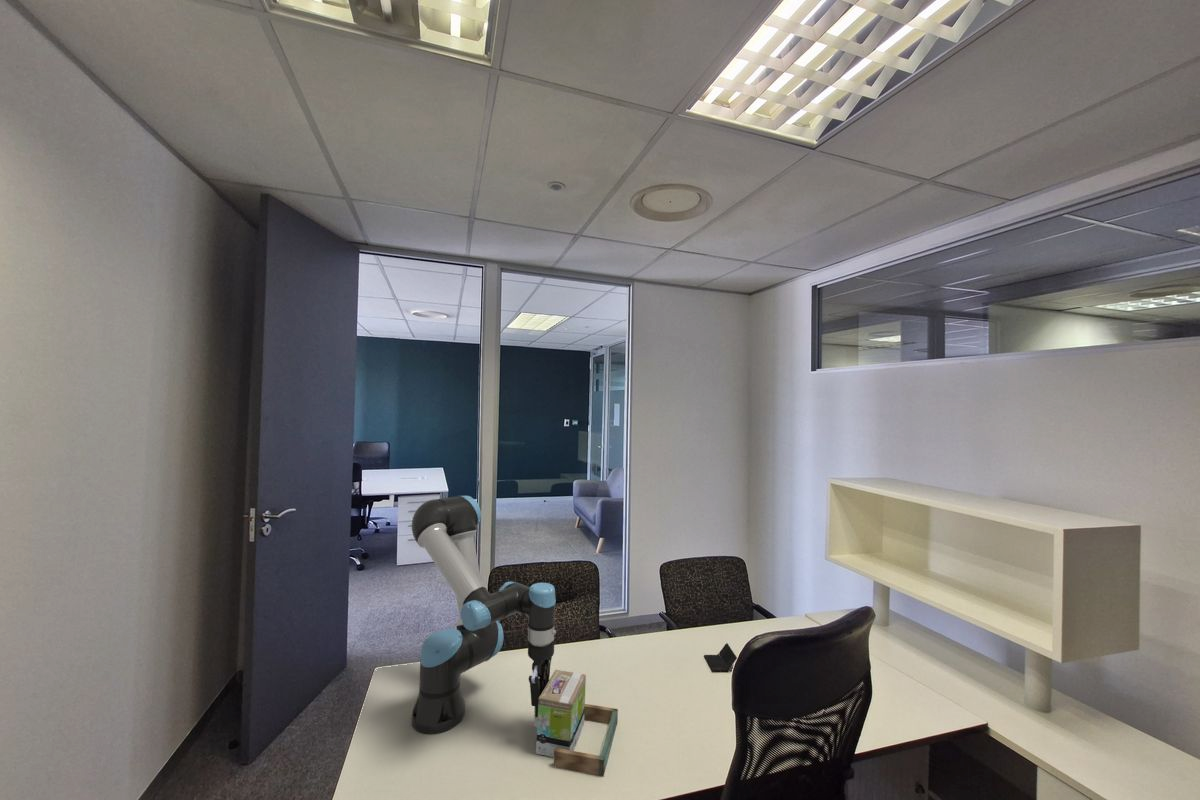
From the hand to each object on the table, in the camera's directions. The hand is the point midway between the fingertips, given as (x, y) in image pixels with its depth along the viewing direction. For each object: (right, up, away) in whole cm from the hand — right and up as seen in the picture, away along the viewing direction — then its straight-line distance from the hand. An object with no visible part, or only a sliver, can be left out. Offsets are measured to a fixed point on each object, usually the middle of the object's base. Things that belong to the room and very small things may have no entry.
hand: (539, 725), depth 126 cm
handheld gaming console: (+62, -6, +39) cm, 74 cm away
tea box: (+6, -3, -1) cm, 7 cm away
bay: (+13, -3, -3) cm, 14 cm away
